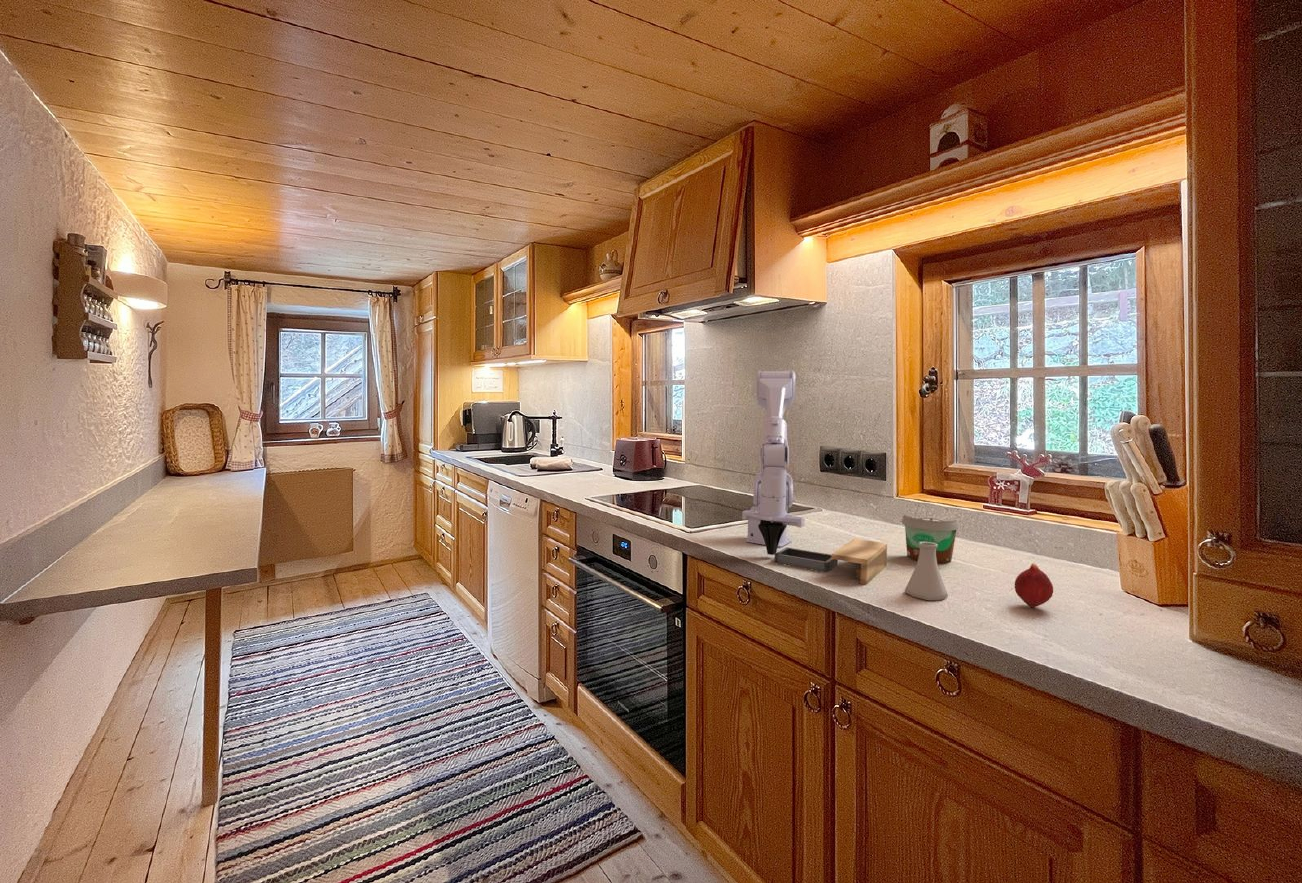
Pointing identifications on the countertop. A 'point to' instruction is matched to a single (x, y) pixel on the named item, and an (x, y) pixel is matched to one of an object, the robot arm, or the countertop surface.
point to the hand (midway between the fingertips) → (771, 553)
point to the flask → (926, 575)
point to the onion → (1033, 586)
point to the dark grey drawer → (806, 559)
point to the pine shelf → (864, 557)
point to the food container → (930, 536)
